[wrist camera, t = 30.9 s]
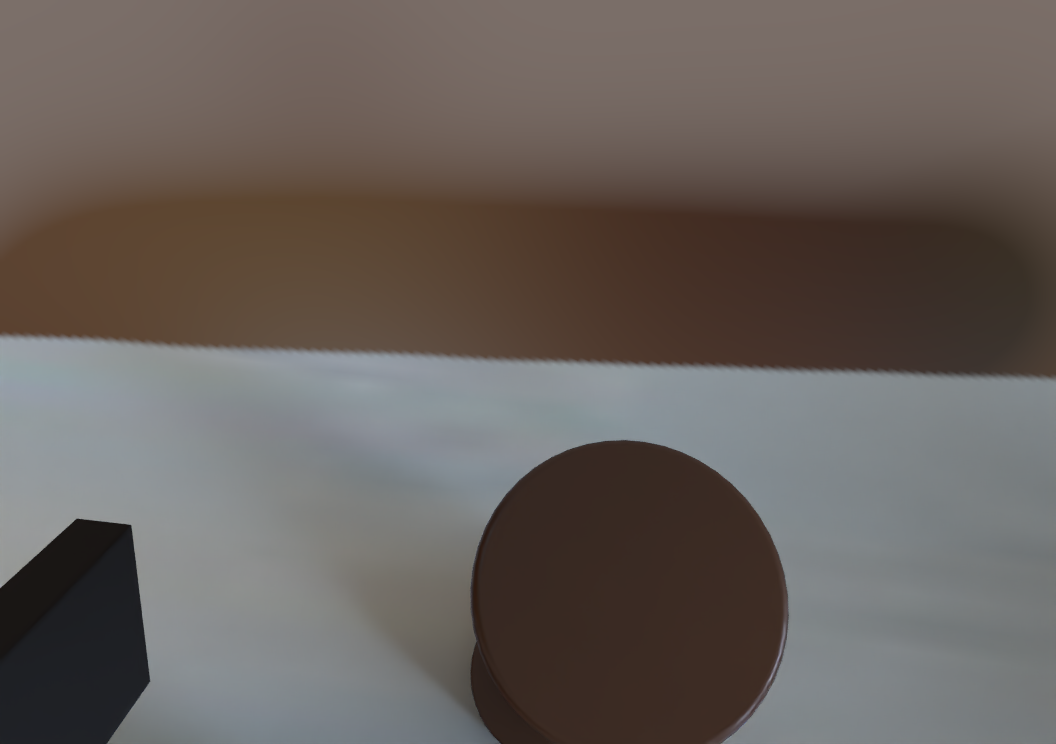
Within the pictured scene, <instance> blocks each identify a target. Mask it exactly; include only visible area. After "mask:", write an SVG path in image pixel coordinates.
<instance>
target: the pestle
mask: <svg viewBox="0 0 1056 744" xmlns="http://www.w3.org/2000/svg"><path fill="white" fill-rule="evenodd" d="M471 614H472V621H473V628H474V633H475V637H476V640H477V642H476V645H475V648H474V652H473V656H472V662H471V686H472V694H473V697H474V701H475V705H476V707H477V710H478V712H479V715H480V717H481V718H482V720H483V722H484V724H485V726H486V727H487V728H488V730H489V731H490V732H491V734H492V735H493V736H494V737H495V738H496V739H497V740H498V741H499V742H500V743H501V744H720V743H722V742H723V741H724V740H726V739H727V738H728V737H730V736H731V735H732V734H734V733H735V732H736V731H737V730H738V729H739V728H740V727H741V726H742V725H743V724H744V723H745V722H746V721H747V720H748V719H749V718H750V717H751V716H752V715H753V713H754V712H755V711H756V709H757V708H758V707H759V705H760V704H761V703H762V701H763V700H764V698H765V696H766V695H767V693H768V691H769V689H770V687H771V685H772V683H773V682H774V680H775V677H776V674H777V672H778V669H779V666H780V664H781V661H782V657H783V653H784V649H785V644H786V640H787V630H788V619H789V611H788V593H787V587H786V581H785V575H784V571H783V568H782V564H781V561H780V558H779V554H778V552H777V550H776V547H775V545H774V543H773V540H772V538H771V536H770V534H769V532H768V530H767V528H766V527H765V525H764V523H763V522H762V520H761V518H760V516H759V515H758V514H757V512H756V511H755V510H754V508H753V507H752V506H751V504H750V503H749V502H748V500H747V499H746V498H745V497H744V496H743V495H742V494H741V493H740V492H739V491H738V490H737V489H736V488H735V487H734V486H733V485H732V484H731V483H730V482H729V481H727V480H726V479H725V478H724V477H723V476H721V475H720V474H719V473H718V472H716V471H715V470H713V469H712V468H710V467H709V466H707V465H705V464H704V463H702V462H701V461H699V460H697V459H695V458H693V457H691V456H689V455H687V454H685V453H682V452H680V451H677V450H674V449H671V448H668V447H665V446H661V445H657V444H652V443H647V442H640V441H628V440H618V441H603V442H597V443H591V444H586V445H582V446H579V447H576V448H572V449H569V450H567V451H565V452H562V453H560V454H558V455H556V456H553V457H551V458H550V459H548V460H546V461H545V462H543V463H541V464H540V465H538V466H537V467H535V468H534V469H532V470H531V471H530V472H529V473H528V474H526V475H525V476H524V477H523V478H521V479H520V480H519V481H518V482H517V483H516V484H515V485H514V486H513V488H512V489H511V490H510V491H509V492H508V493H507V494H506V495H505V497H504V498H503V499H502V501H501V502H500V503H499V505H498V506H497V508H496V509H495V510H494V512H493V514H492V516H491V518H490V520H489V522H488V523H487V525H486V527H485V529H484V532H483V535H482V537H481V540H480V542H479V545H478V548H477V552H476V556H475V560H474V564H473V570H472V579H471Z"/></svg>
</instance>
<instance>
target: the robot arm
mask: <svg viewBox="0 0 1056 744" xmlns="http://www.w3.org/2000/svg"><path fill="white" fill-rule="evenodd" d="M149 682H150V676H149V668H148V660H147V651H146V643H145V635H144V627H143V618H142V610H141V602H140V593H139V585H138V577H137V569H136V560H135V552H134V544H133V536H132V527H131V525H127V524H119V523H110V522H101V521H93V520H84V519H76V520H75V521H74V522H73V523H72V524H70V525H69V526H68V527H67V528H66V529H65V530H64V531H63V532H62V533H61V534H59V535H58V536H57V537H56V538H55V539H54V540H53V541H52V542H51V543H50V544H48V545H47V546H46V547H45V548H44V549H43V550H42V551H41V552H40V553H39V554H37V555H36V556H35V557H34V558H33V559H32V560H31V561H30V562H29V563H28V564H26V565H25V566H24V567H23V568H22V569H21V570H20V571H19V572H18V573H17V574H15V575H14V576H13V577H12V578H11V579H10V580H9V581H8V582H7V583H6V584H5V585H3V586H2V587H1V588H0V744H107V742H108V741H109V739H110V738H111V737H112V735H113V734H114V732H115V731H116V729H117V728H118V727H119V725H120V724H121V722H122V721H123V719H124V718H125V717H126V715H127V714H128V712H129V711H130V709H131V708H132V707H133V705H134V704H135V702H136V701H137V699H138V698H139V697H140V695H141V694H142V692H143V691H144V689H145V688H146V687H147V685H148V684H149Z"/></svg>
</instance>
